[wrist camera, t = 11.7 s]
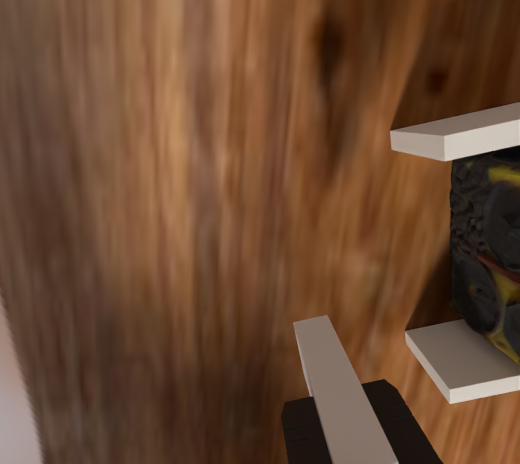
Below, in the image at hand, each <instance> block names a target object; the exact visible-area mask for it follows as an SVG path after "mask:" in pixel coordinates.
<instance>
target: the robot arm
mask: <svg viewBox="0 0 520 464" xmlns="http://www.w3.org/2000/svg"><path fill="white" fill-rule="evenodd" d="M293 324H294V329H295V334H296V339H297V343H298V348H299V353H300V358H301V362H302V367H303V372H304V376H305V379H306V383H307V387H308V390H309V394H310V397H307V398H302V399H298V400H293V401H289V402H285V405H284V409H283V412H282V416H281V417H282V423H283V430H284V436H285V442H286V449H287V455H288V462H289V464H443V462H442V461H441V460H440V458H439V457H438V455H437V454H436V452H435V450H434V449H433V447H432V445H431V444H430V442H429V441H428V439H427V437H426V436H425V434H424V432H423V431H422V429H421V428H420V426H419V424H418V423H417V421H416V419H415V418H414V416H412V413H411V411H410V410H409V408H408V406H407V405H406V404H405V401H404V400H403V398H402V397H401V395H400V393H399V392H398V390H397V389H396V388H395V387H394V386H392V385H391V384H390V383H389V382H387V381H386V380H385V379H382V380H378V381H373V382H369V383H364V384H360V382H359V380H358V378H357V376H356V374H355V371H354V369H353V367H352V365H351V363H350V361H349V359H348V357H347V355H346V353H345V351H344V349H343V347H342V345H341V343H340V340H339V338H338V336H337V334H336V332H335V330H334V328H333V326H332V324H331V322H330V320H329V318H328V316H327V315H324V316H319V317H315V318H311V319H306V320H302V321H297V322H293Z"/></svg>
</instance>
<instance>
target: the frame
mask: <svg viewBox="0 0 520 464" xmlns="http://www.w3.org/2000/svg"><path fill="white" fill-rule="evenodd" d="M390 136H391V149H392V150H395V151H400V152H404V153H409V154H413V155H418V156H423V157H427V158H432V159H436V160H441V161H449V160H453V159H458V158H463V157H467V156H472V155H476V154H481V153H485V152H490V151H494V150H499V149H504V148H508V147H513V146H517V145H520V102H518V103H513V104H509V105H504V106H500V107H495V108H491V109H486V110H482V111H477V112H473V113H468V114H464V115H459V116H455V117H450V118H446V119H441V120H437V121H432V122H428V123H423V124H419V125H414V126H410V127H405V128H401V129H396V130H392V131H390ZM405 336H406V344H407V345H408V347H409V348H410V349H411V351H412V352H413V353H414V355H415V356H416V358H417V359H418V360H419V362H420V363H421V365H422V366H423V367H424V369H425V370H426V371H427V373H428V374H429V376H430V377H431V378H432V380H433V381H434V383H435V384H436V385H437V387H438V388H439V389H440V391H441V392H442V394H443V395H444V396H445V398H446V399H447V401H448V402H449V403H450V404H452V403H457V402H462V401H467V400H472V399H477V398H482V397H487V396H492V395H497V394H502V393H507V392H512V391H517V390H520V365H518V364H517V363H516V362H515V361H514V360H513V359H512V358H510V357H509V356H508V355H507V354H506V353H504V352H503V351H501V350H500V349H499V348H497V347H496V346H495V345H493V344H492V343H491V342H489V341H487V340H486V339H485V338H484V337H483V336H482V335H480V334H479V333H477V332H474V331H473V330H472V329H471V328H470V327H469V325H468V324H467V323H466V321H465V320H464V319H460V320H455V321H451V322H446V323H441V324H436V325H431V326H427V327H422V328H417V329H412V330H407V331H405Z"/></svg>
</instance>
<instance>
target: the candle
mask: <svg viewBox="0 0 520 464" xmlns="http://www.w3.org/2000/svg"><path fill="white" fill-rule="evenodd" d="M451 184H452V192H451V195H450V207H451V209H452V214H451V225H450V229H451V231H452V234H451V239H450V244H451V251H450V256H451V267H452V273H451V294H452V295H451V298H450V302H449V304H450V306H451V307H452V309H453V311H454V312H455V314H456V315H458V316H461V317H463V318H464V320H465V321H466V323H467V324H468V325H469V327H470V328H471V329H472V330H473V331H474V332H477V333H479V334H480V335H482V336H483V337H484V338H485V339H486V340H487V341H489V342H491V343H492V344H493V345H495V346H496V347H497V348H499V349H500V350H501V351H503V352H504V353H506V354H507V355H508V356H509V357H510V358H512V359H513V360H514V361H515V362H516V363H517V364H518V365H520V145H519V146H515V147H510V148H504V149H499V150H497V151H494V152H487V153H481V154H476V155H472V156H467V157H463V158H458V159H455V161H454V163H453V167H452V174H451Z"/></svg>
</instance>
